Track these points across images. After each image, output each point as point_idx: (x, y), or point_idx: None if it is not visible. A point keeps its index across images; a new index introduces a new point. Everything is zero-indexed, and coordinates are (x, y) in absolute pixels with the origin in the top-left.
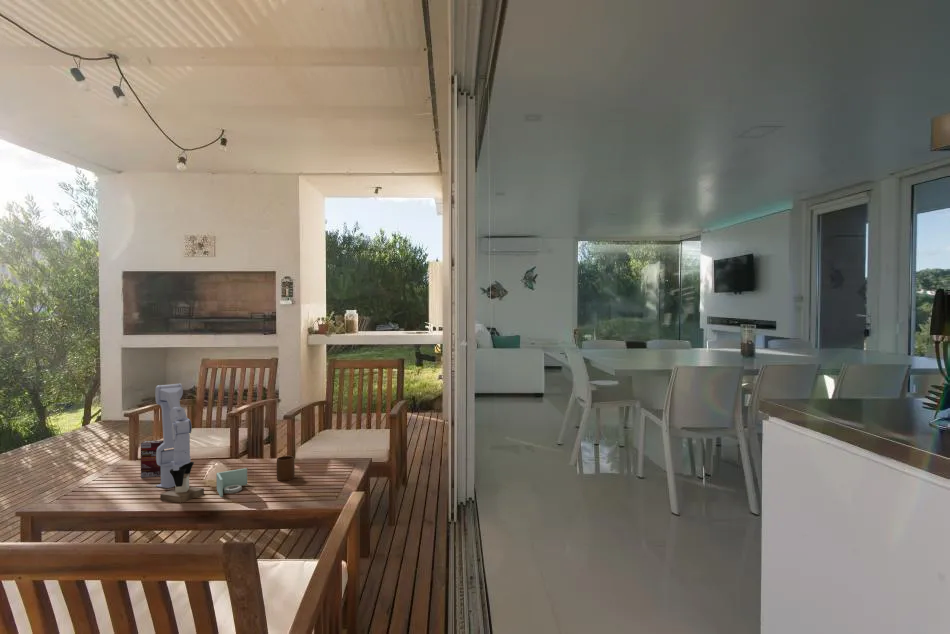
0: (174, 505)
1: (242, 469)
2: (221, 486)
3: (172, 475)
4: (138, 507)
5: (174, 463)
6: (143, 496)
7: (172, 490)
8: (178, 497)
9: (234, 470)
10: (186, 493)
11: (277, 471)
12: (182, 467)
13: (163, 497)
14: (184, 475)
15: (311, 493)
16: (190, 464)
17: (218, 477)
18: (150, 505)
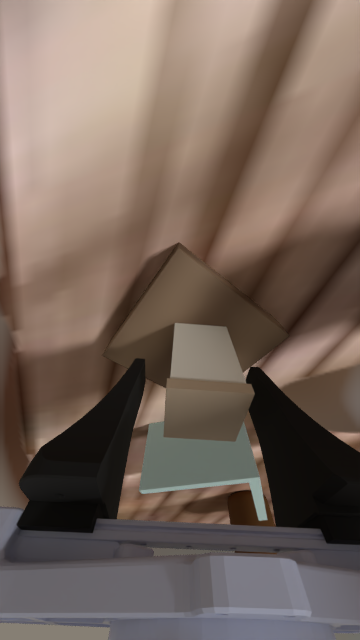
0: (82, 324)
1: (257, 514)
2: (144, 461)
3: (76, 423)
4: (63, 137)
5: (119, 600)
6: (322, 77)
7: (226, 300)
8: (110, 344)
9: (257, 505)
10: (148, 366)
11: (245, 521)
12: (297, 463)
13: (164, 265)
14: (195, 427)
15: (126, 515)
16: (281, 522)
17: (189, 480)
18: (94, 211)
